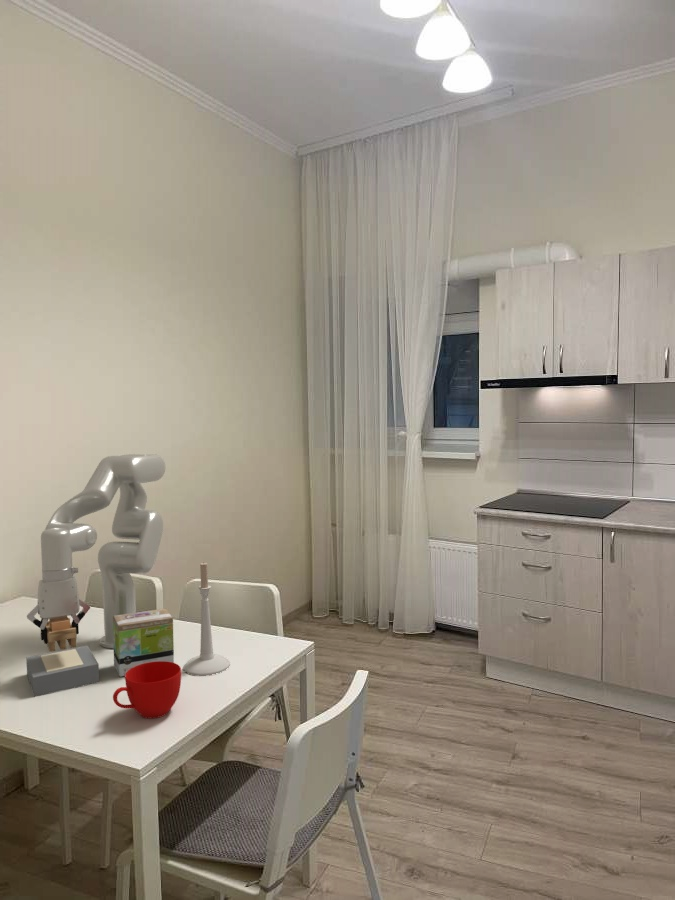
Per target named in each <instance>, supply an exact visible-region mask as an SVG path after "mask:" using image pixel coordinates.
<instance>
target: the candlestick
mask: <svg viewBox="0 0 675 900" xmlns="http://www.w3.org/2000/svg"><path fill="white" fill-rule="evenodd" d="M199 566H200V571H199V572H200V585H199V586H198V587H197V588H198V589H199V590H200V591H199V593H200V595H201V600H200V601H201V608H200V616H201V617H200V650H199V651H200V653H199V655H197V656H194V657H192V658H190V659H189V660H187V661H186V662H185V663H184V664H183V671H184V672H185V673H186V672H187V673H186V674H188V673H189V674H188V675H190V674H192V675H191V676H195V675H199V676H198V677H206V675H209V676H213V675H212V674H215V675H217V674H216V673H218V674H221V673H223V672H222V671H224V670H225V671H227V670H228V669H229V668H230V667H231V661H230V660H229V658H227V657H226V656H224V655H221V654H216V653H214V648H213V637H212V636H213V635H212V625H211V624H212V623H211V613H210V602H209V601H210V599H209V598H208V597H209V594H210V589H211V588H212V586H211V585H209V574H208V573H209V570H208V569H209V568H208V566H209V565H208V563H207V562H201V563H200V565H199ZM229 666H230V667H229ZM227 668H228V669H227ZM226 669H227V670H226ZM225 671H224V672H225ZM220 672H221V673H220Z"/></svg>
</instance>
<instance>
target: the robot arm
mask: <svg viewBox="0 0 675 900" xmlns="http://www.w3.org/2000/svg"><path fill="white" fill-rule="evenodd" d="M165 472H166V462H165V461H164V458H163V457H162V456H161V455H158V454H139V453H138V454H135V453H133V454H131V453H130V454H122V455H109V456H106V457H104V458H102V459H101V460H100V462H99V463H98V464H97V466H96V468H95V470H94V472H93V473H92V475H91V477H90V478H89V480H88V482H87V483H86V485H85V487H84V488H83V490H82V491H81V492H79V493H78V494H76V495H74V496H73V497H71V498H69V500H67V501H65V502H64V503H63V504H61V505H60V506H59V507H57V509H56V510H55V511H54V512H53V514H52V516H51V517H50V519H49V521H48V523H46V526H45V529H44V530H42V532H41V533H40V534H41V535H40V550H41V552H40V553H41V575H42V576H41V577H42V578H41V579H40V580H39V582H38V587H37V588H38V589H37V604H36V606H34V607H33V608H32V610H30V611H29V613H28V614H26V618H27V620H29V621H30V622H31V623H33V625H34V626H36V627H38V628H39V629H40V640H41V641H43V643H44V644H45V645H47V643H48V640H47V628H46V624H47V622H48V621H49V619H51V618H57V617H63V616H67V617H68V616H69V617H70V616H71V617H70V618H72V622H71V625H72V627H73V628H76V639H77V635H79V623H80V622H81V620H83V618H84V617H85V615H86V614H87V613H88V612H89V610H90V609H91V606H90V605H89V604H88V603H86V602H84V601H83V600H82V599H80V597H79V595H80V594H79V589H78V584H77V579H76V577H75V576H74V575H75V574H76V573H79V567H74V566H73V553H76V552H84V551H88V550H90V549H92V547H93V546H94V545H95V544H96V542H97V540H98V533H97V530H96V528H95V527H94V526H93V525H90V524H87V523H79V522H78V523H75V522H76V521H78V520H79V519H81V518H82V517H85V516H87V515H90V514H94V513H96V512H98V511H99V512H100V511H102V510H104V509H106V508H107V507H108V506H110V504H111V502H112V501H113V499H114V497H115V495H116V494H117V491H118V490H119V492H120V494H119V500H118V502H117V503H118V504H117V506H116V510H115V513H114V517H113V521H112V525H111V532H112V535H113V536H114V537H115V538H117V539H121V540H133V542H132V541H110V542H109V541H108V542H106V543H104V544H103V545H102V546H101V547H100V548H99V550H98V552H97V562H98V566H99V570H100V576H101V582H102V602H103V624H104V636H101V638H100V639H99V645H100V646H101V647H103V648H106V649H114V643H113V616H115V615H123V614H130V613H137V610H136V609H137V608H136V586H135V582H134V579H133V577H132V575H131V574H135V575H136V574H137V575H141V574H142V575H145V574H148V573H150V572H151V570H152V569H153V568H154V565H155V563H156V559H157V556H158V551H159V548H160V543H161V539H162V536H163V533H164V532H163V531H164V521H163V517H162V515H161V514H160V513H159V512H158V511H156V510H152V509H146V507H147V502H148V495H147V493H146V491H145V489H144V487H143V485H142V484H145V483H146V484H147V483H151V482H152V483H153V482H157V481H159V480H161V479H162V478H163V477H164V474H165ZM134 541H135V542H134ZM136 541H138V542H136ZM80 607H81V608H82V609H81V610H80ZM37 615H39V618H40V620H39V619H38V618H36V617H35V616H37Z"/></svg>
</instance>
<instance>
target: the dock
mask: <svg viewBox="0 0 675 900" xmlns="http://www.w3.org/2000/svg"><path fill="white" fill-rule="evenodd" d="M99 665H100V664H99V663H98V661H97V658H95V655H94V654H93V653H92V651H91V649H90V648H89V646H88V645H83V646H77V647H74V648H68V649H67V648H66V649H63V650H56V651H53V652H47V653H42V654H37V655H31V656H27V657H26V676H27V679H28V682H29V684H30V685H31V686H30V688H31V692H32V695H33V697H38V696H42V695H47V694H52V693H56V692H60V691H66V690H70V689H74V687H75V688H78V687H83V685H84V686H88V685H92V683H93V684H97V683H100V671H99V670H100V666H99Z"/></svg>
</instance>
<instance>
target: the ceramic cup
mask: <svg viewBox="0 0 675 900" xmlns="http://www.w3.org/2000/svg"><path fill="white" fill-rule="evenodd" d="M124 678H125V679H124V680H125V686H123V687H122V686H121V687H119V688H116V690H115V691H114V692H113V695H112V700H113V702H114V704H115V705H116V706H117V707H118V708H121V709H134V710H135V711H136V712H137V713H138V714H139V715H140V716H141V717H142V718H145V719H158V718H161V717H163V716H165V715H167V714H168V713H169V712H170V710H171V709H172V708H173V707H174V705H175V704H176V702H177V700H178V697H179V695H180V690H181V683H182V668H181V666H180V665H179V664H177V663H176V662H174V663H173V662H166V661H157V662H148V663H144V664H140V665H138V666H135V667H133V668H131V669H130V670H128V671H127V672H126V674H125V676H124ZM121 692H126V694H127V697H128V701H129V703H130V704H123V703H120V702H119V700H118V695H119V694H120V693H121Z"/></svg>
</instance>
